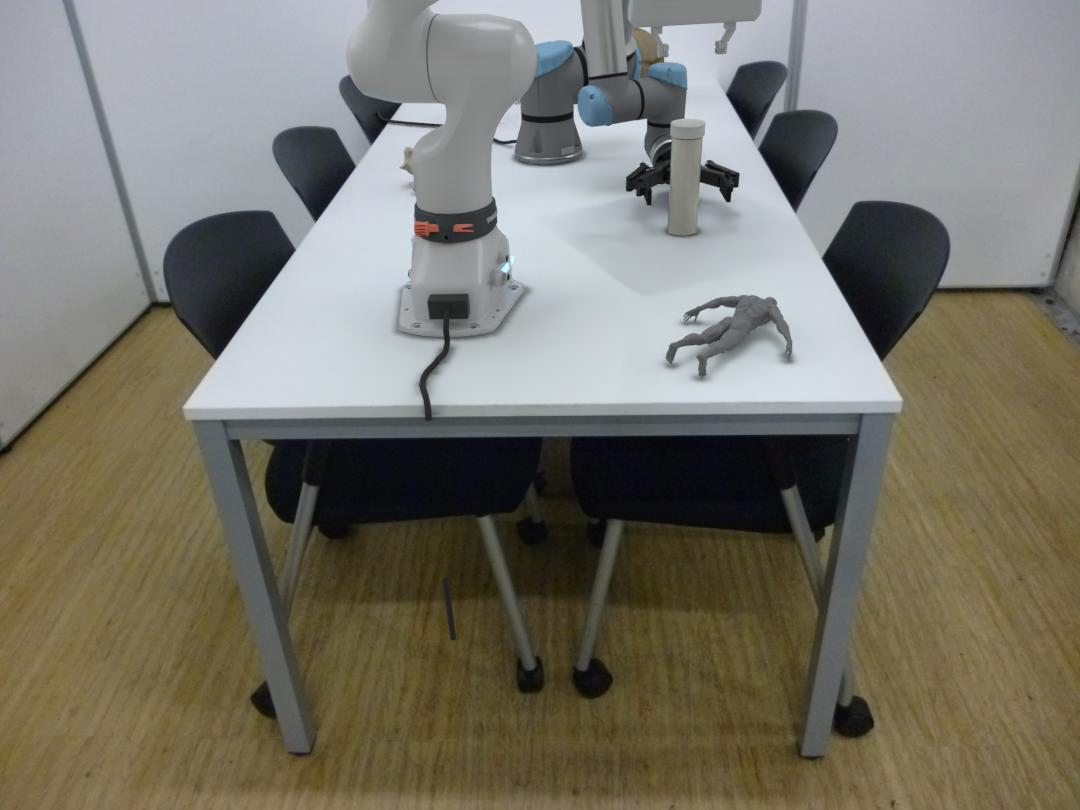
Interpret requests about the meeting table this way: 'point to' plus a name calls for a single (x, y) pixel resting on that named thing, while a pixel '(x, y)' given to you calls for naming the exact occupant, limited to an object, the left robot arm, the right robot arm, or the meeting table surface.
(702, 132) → the lid
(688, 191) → the jar
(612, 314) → the meeting table surface
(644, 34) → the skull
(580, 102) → the right robot arm
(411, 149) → the bone
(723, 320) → the figurine
